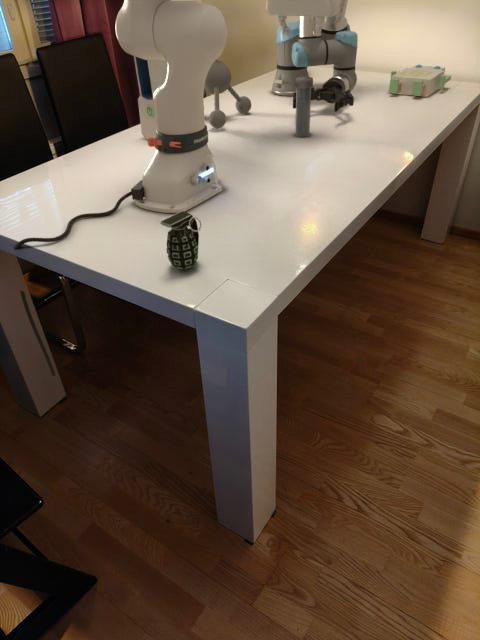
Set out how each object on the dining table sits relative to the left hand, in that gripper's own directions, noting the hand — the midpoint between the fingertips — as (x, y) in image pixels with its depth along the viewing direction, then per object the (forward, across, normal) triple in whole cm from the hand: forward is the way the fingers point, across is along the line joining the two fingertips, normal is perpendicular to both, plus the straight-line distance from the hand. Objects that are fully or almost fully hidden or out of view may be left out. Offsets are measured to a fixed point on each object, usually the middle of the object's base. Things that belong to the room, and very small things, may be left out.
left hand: (301, 35), depth 132 cm
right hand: (+21, 0, +9) cm, 23 cm away
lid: (+11, +1, +1) cm, 11 cm away
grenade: (+25, +19, -77) cm, 83 cm away
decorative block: (+28, +14, +66) cm, 73 cm away
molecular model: (+27, -31, +4) cm, 42 cm away
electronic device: (+26, -36, -22) cm, 50 cm away
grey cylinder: (+27, +1, 0) cm, 27 cm away
